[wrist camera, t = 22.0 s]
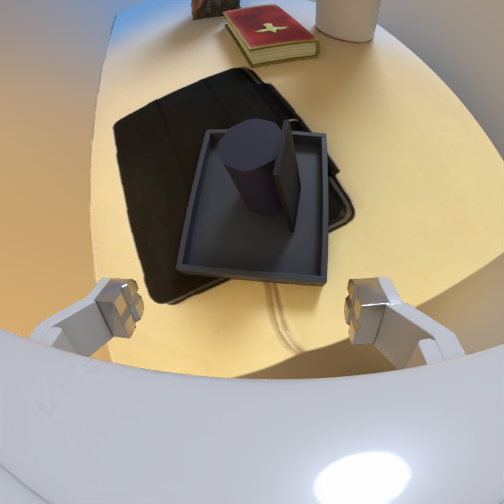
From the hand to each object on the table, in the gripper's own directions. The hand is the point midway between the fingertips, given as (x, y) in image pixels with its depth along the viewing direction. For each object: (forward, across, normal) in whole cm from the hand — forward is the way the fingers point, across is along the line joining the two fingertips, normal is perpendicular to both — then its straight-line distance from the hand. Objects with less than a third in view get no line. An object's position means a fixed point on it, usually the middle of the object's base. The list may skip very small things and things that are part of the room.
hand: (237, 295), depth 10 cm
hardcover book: (+47, -1, -23) cm, 52 cm away
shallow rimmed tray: (+20, 0, +3) cm, 20 cm away
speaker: (+20, 0, +3) cm, 20 cm away
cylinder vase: (+50, -18, -27) cm, 60 cm away
